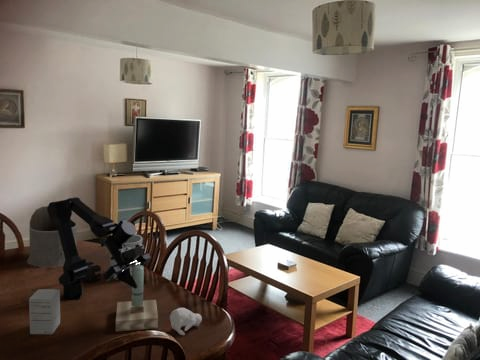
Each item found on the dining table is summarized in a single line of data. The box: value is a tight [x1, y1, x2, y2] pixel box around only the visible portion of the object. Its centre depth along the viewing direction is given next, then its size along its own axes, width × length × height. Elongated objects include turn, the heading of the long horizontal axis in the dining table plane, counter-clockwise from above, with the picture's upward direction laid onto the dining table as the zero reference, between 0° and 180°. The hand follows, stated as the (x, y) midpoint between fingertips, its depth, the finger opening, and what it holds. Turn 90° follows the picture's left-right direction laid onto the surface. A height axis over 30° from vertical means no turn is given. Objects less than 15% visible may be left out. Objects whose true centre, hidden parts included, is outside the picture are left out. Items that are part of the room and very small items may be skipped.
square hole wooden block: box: [115, 299, 159, 332], centre depth 138 cm, size 14×14×4 cm
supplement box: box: [28, 288, 61, 335], centre depth 129 cm, size 7×7×13 cm
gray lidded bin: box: [27, 205, 78, 268], centre depth 188 cm, size 23×32×25 cm
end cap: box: [84, 261, 102, 283], centre depth 171 cm, size 10×7×7 cm
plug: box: [131, 265, 145, 307], centre depth 137 cm, size 4×4×14 cm
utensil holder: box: [109, 233, 143, 281], centre depth 177 cm, size 15×15×18 cm
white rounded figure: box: [169, 307, 203, 336], centre depth 134 cm, size 6×8×12 cm
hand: (140, 285), depth 136 cm, fingers closed on plug, 4 cm apart
